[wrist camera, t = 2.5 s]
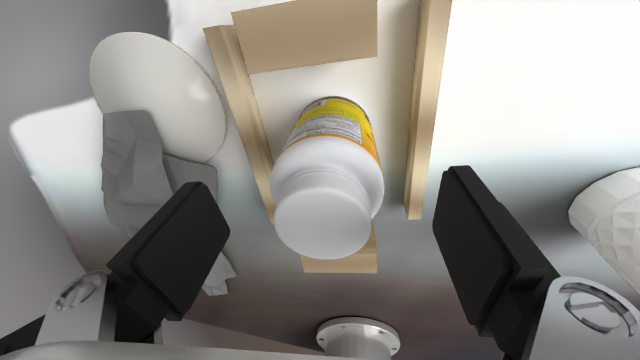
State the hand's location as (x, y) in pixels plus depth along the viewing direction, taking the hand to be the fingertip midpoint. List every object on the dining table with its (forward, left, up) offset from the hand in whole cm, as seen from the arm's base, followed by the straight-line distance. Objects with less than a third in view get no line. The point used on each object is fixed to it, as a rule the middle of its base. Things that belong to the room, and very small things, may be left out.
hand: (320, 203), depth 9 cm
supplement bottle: (-1, 0, -10) cm, 10 cm away
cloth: (-19, +8, -9) cm, 23 cm away
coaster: (-7, +12, -9) cm, 16 cm away
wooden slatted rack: (-1, 0, -9) cm, 9 cm away
